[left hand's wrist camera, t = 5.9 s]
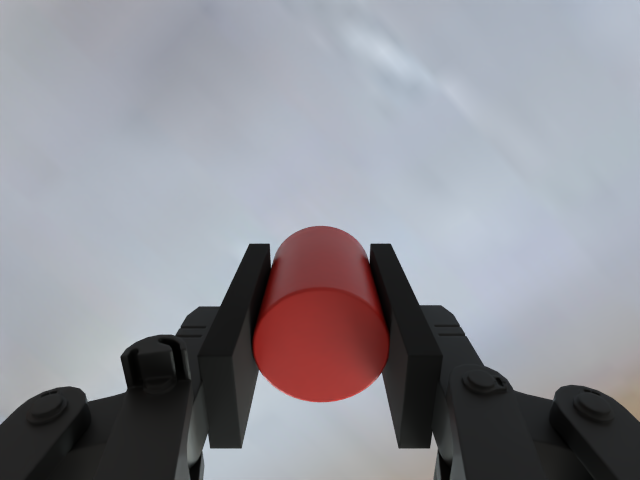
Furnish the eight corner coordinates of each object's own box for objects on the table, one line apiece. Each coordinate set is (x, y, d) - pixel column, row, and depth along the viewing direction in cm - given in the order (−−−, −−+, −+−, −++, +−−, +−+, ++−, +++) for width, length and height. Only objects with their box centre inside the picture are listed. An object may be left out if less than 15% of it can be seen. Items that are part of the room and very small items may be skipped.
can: (279, 316, 16) (262, 408, 11) (265, 229, 14) (240, 295, 10) (371, 308, 16) (392, 398, 11) (366, 220, 14) (388, 281, 10)
